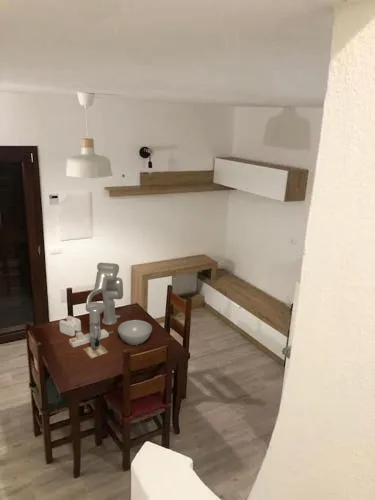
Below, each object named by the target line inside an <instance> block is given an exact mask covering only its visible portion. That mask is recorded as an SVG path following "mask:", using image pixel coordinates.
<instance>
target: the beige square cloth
mask: <svg viewBox="0 0 375 500" xmlns="http://www.w3.org/2000/svg"><path fill="white" fill-rule="evenodd" d="M82 350H83V352H85V354H86V355H87V356H88V357H89V358H90V359H93V358H97V357H99V356H102V354H103V355H105V354H108V353H109V351H108V350H107V348H105V346H103V344H101V343H100V347H97V348H93V347H92V346H91V345H90V346H87V347H85V348H82Z"/></svg>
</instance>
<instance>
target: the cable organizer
mask: <svg viewBox="0 0 375 500" xmlns="http://www.w3.org/2000/svg"><path fill="white" fill-rule="evenodd" d="M58 325H59V332H60V333H62V334H63V335H66V336H68V337H69V336H70V337H75V336H76V333H77V332H82V321H81V320H80V318H76V317H74V316H72V315H68V316H66V320H64V319H61V320H59V324H58Z"/></svg>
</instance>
